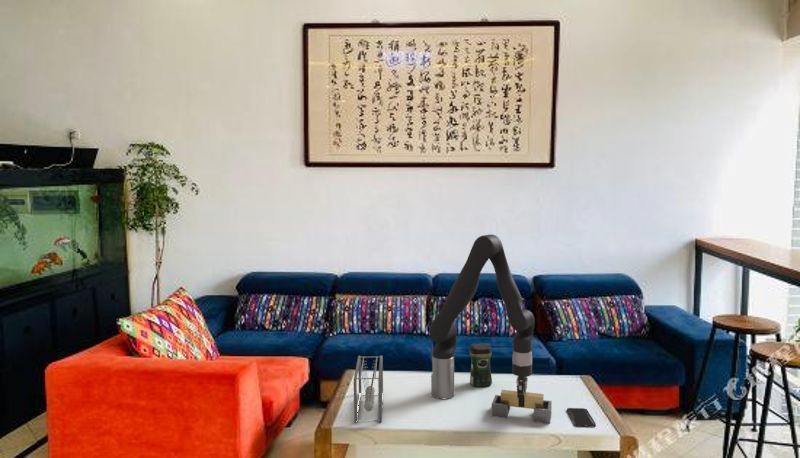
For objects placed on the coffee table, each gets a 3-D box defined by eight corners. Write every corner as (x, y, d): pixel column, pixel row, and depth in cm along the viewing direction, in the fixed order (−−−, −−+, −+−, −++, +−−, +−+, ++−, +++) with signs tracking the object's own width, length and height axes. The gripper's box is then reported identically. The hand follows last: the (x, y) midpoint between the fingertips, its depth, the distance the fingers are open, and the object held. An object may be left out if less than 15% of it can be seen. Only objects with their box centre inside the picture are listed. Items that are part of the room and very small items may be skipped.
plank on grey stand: (491, 416, 219) (491, 404, 219) (495, 406, 228) (495, 394, 228) (549, 423, 212) (550, 410, 212) (551, 413, 221) (551, 401, 221)
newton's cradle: (359, 394, 243) (358, 354, 242) (383, 393, 244) (382, 353, 242) (354, 424, 214) (353, 379, 212) (381, 424, 214) (381, 379, 212)
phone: (586, 408, 224) (596, 425, 209) (586, 411, 224) (596, 427, 209) (566, 408, 225) (574, 424, 210) (566, 410, 225) (574, 427, 210)
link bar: (500, 405, 221) (500, 392, 220) (502, 401, 224) (502, 389, 224) (542, 410, 216) (542, 397, 215) (543, 406, 219) (543, 394, 219)
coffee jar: (489, 380, 257) (489, 340, 255) (493, 386, 249) (493, 346, 248) (468, 381, 256) (468, 341, 255) (472, 388, 249) (472, 347, 247)
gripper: (514, 355, 226) (514, 396, 228) (510, 367, 213) (510, 410, 214) (533, 357, 224) (533, 398, 226) (530, 368, 210) (530, 413, 212)
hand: (521, 404), depth 220 cm, fingers closed on link bar, 3 cm apart
